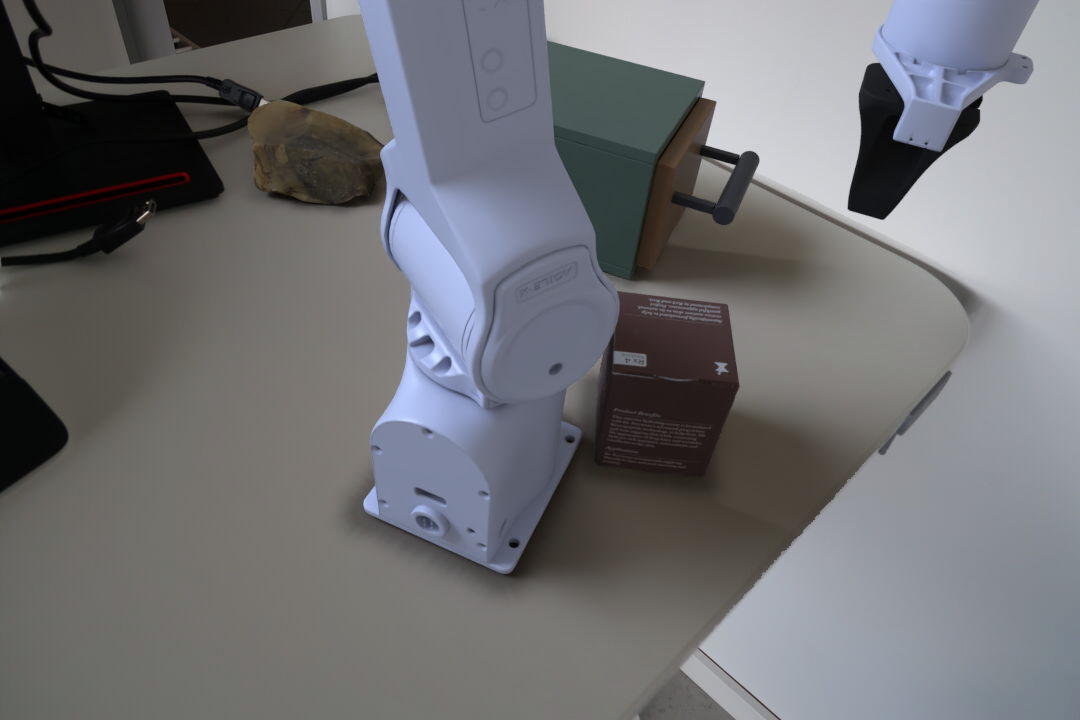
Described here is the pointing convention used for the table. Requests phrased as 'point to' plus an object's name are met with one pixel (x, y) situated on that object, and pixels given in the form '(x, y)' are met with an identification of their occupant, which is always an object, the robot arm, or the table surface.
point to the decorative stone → (312, 154)
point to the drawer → (690, 183)
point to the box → (665, 385)
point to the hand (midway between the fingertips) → (866, 209)
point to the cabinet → (614, 140)
